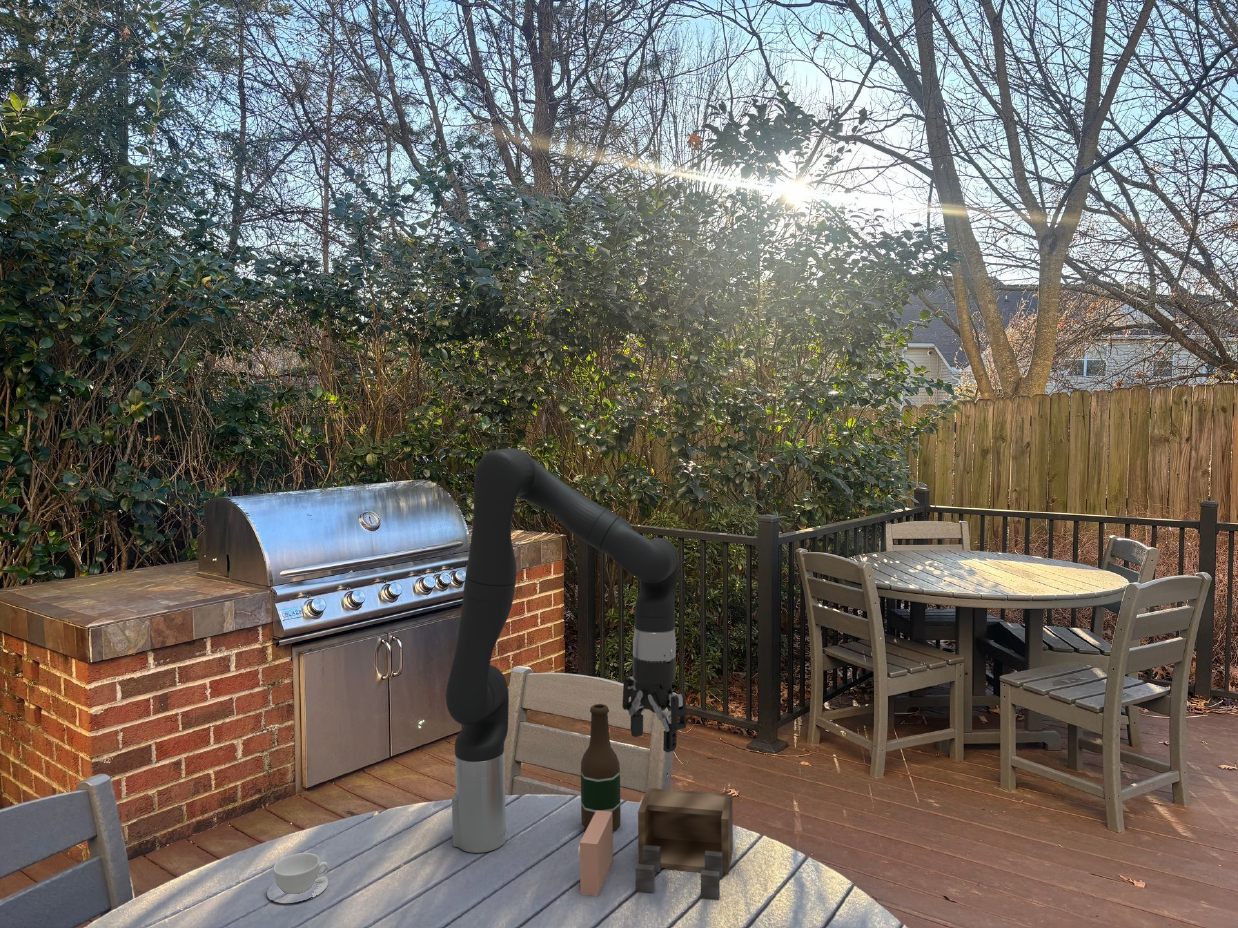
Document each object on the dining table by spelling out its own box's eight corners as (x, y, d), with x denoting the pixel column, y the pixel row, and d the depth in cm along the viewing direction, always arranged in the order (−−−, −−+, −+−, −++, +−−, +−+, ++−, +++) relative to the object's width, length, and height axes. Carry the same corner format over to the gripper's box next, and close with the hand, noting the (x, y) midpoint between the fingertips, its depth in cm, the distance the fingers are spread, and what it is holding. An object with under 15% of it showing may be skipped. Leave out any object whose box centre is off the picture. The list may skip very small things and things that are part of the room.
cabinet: (630, 890, 144) (629, 832, 143) (648, 838, 161) (647, 787, 161) (724, 900, 140) (724, 841, 140) (732, 846, 158) (732, 794, 158)
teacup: (267, 912, 139) (266, 884, 139) (265, 882, 148) (264, 856, 148) (331, 897, 143) (330, 870, 143) (325, 869, 152) (324, 843, 152)
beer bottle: (622, 817, 170) (621, 699, 169) (618, 836, 163) (617, 713, 161) (584, 816, 171) (582, 698, 170) (578, 834, 163) (576, 712, 162)
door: (591, 857, 155) (590, 809, 154) (613, 859, 154) (612, 811, 154) (574, 893, 143) (574, 841, 143) (597, 896, 142) (597, 844, 142)
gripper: (612, 647, 152) (611, 736, 153) (666, 666, 141) (664, 761, 142) (643, 640, 157) (642, 726, 158) (698, 658, 146) (696, 750, 147)
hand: (653, 743), depth 150 cm, fingers open, 8 cm apart
